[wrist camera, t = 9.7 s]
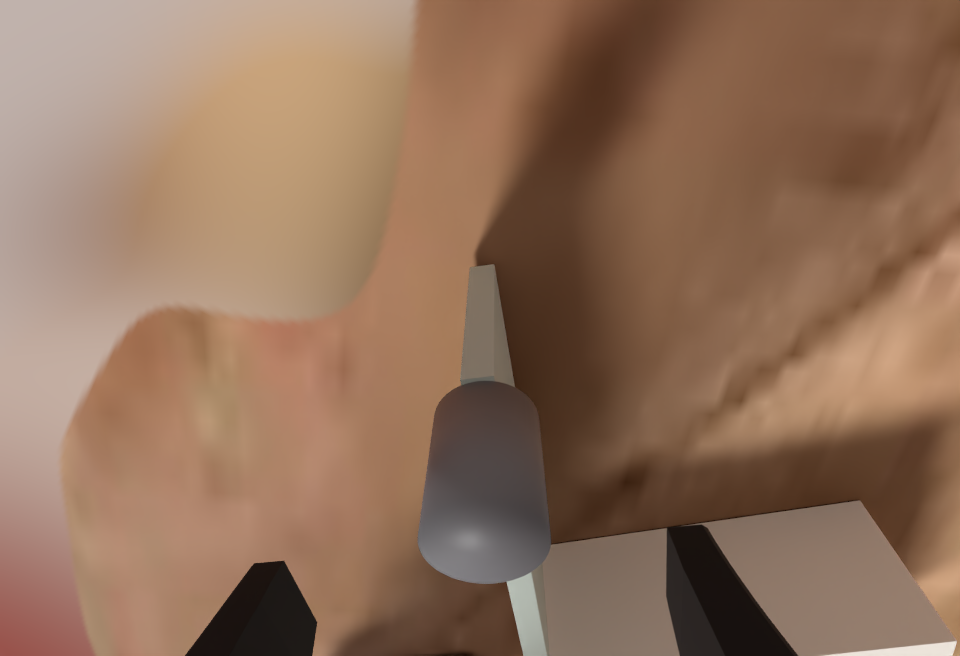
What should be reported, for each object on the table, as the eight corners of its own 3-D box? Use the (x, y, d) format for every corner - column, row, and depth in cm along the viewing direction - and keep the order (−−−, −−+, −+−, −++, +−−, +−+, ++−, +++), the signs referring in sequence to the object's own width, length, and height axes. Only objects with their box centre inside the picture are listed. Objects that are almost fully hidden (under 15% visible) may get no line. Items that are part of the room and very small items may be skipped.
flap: (560, 536, 25) (590, 798, 17) (502, 541, 26) (505, 801, 18) (522, 260, 18) (543, 486, 10) (442, 271, 19) (403, 500, 11)
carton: (568, 658, 31) (583, 797, 26) (533, 547, 26) (543, 691, 21) (844, 627, 29) (921, 771, 24) (861, 500, 24) (962, 646, 19)
